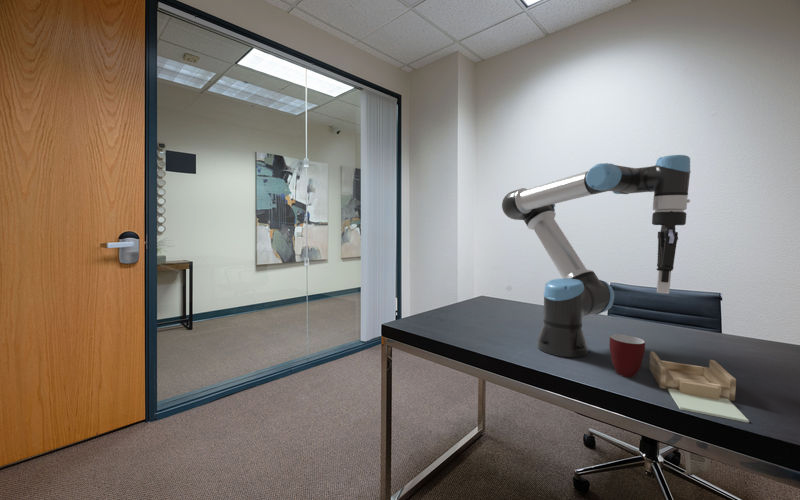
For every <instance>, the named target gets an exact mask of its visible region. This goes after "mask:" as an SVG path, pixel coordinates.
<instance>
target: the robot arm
mask: <svg viewBox="0 0 800 500" xmlns="http://www.w3.org/2000/svg"><path fill="white" fill-rule="evenodd" d="M691 171H692V170H691V158H690V156H688V155H684V154H672V155H671V154H670V155H665V156H661V157H660V156H659V157H658V158H657V159H656V162H655V165H651V166H645V167H631V166H630V167H629V166H623V165H617V164H613V163H608V162H607V163H603V162H602V163H596V164H594V165H593V166H592V167H590V168H589V170H587V171H586V170H585V171H584V172H580V173H576V174H573V175H570V176H567V177H564V178H560V179H557V180H555V181H551V182H547V183H544V184H542V185H538V186H534V187H532V188H528V189H527V188H525V187H524V188H518V189H516V190H512V191H510V192H508V193H507V194H506V195H505V196H504V197H503V199H502V202H501V209H502V211H503V214H504V215H505V216H506V217H508V218H509V219H511V220H515V221H523V222H524V223H525V224H526V227H527V229H529V230H533V231H534V233H535V234H536V236H537V237H538V239H539V241H540V242H541V244H542V246H543V247H544V249H545V251H546V252H547V254H548V256H549V257H550V259H551V261H552V263H553V265H554V266H555V268H556V269H557V271H558V273H559V274H560V276H561V278H555V279H551V280H548V281H547V282H546V283H545V285H544V291H543V324H542V328H541V329H540V332H539V334H538V337H537V341H536V342H537V343H536V345H537V348H538V349H539V350H541V351H542V352H544V353H547V354H550V355H554V356H557V357H564V358H581V357H585V356H587V355H588V344H587V341H586V338H585V335H584V331H583V317H585V316H586V317H587V316H592V315H595V316H596V315H601V314H602V313H605V312H607V311H609V310H610V309H611V308H612V306H613V304H614V301H615V292H614V290H613V287H612V286H611V285H610V284H609V283H608V282H606V281H604V280H602V279H599V277H598V276H597V274H596V273H595V271H594V270H590V269H588V268H587V267H586V266H585V264H584V263H583V262H582V261H583V260H581V258H580V257H579V255H578V253H577V252H576V251H575V249H574V247H573V246H572V244H571V243H570V241H569V239H568V238H567V236H566V235H565V233H564V232H563V230H562V229H561V228H560V226H559V224H558V223H557V221H556V219H555V218H556V208H555V207H556V204H558V203H559V204H560V203H562V202H564V203H565V202H567V201H571V200H576V199H580V198H584V197H588V196H589V197H590V196H592V195H596V194H601V193H606V192H612V194H615V195H629V194H637V193H653V201H652V202H653V203H652V210H653V213H652V218H651V219H652V220H651V224H652V225H653V226H661V228H660V231H657V262H656V263H657V264H656V266H657V268H656V271H657V283H656V284H657V285H656V293H658V294H667V295H669V294H670V290H671V289H670V287H671V275H672V271H673V270H674V264H675V256H676V251H677V250H676V249H677V243H678V240H679V237H678V235H679V233H678V231H676V226H684V225H686V223H687V222H686V221H687V212H685V211H687V209H688V204H690V202H691V199H688V198H689V197H688V196H689V185H690V178H691V177H690V176H691Z"/></svg>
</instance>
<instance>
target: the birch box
mask: <svg viewBox="0 0 800 500" xmlns="http://www.w3.org/2000/svg"><path fill="white" fill-rule="evenodd" d="M648 367H649V369H648V370H649V371H650V373H651V374H652V376H653V377H654V380H655V381H656V383H657V384H658V386H659V388H660V389H665V390H668V388H669V389H674V390H679V380H684V381H690V382H696V383H702V384H708V385H714V386H718V387H719V388H720V392H719V398H725V399H729V401H731V402H734V401H736V387H737V379H736V378H735V377H734V376H733V375H732V374H730V373H729V372H728V371H727V370H726V369H725V368H724V367H723V366H722V365H721V364H719V362H717V361H716V360H715V359H709V367H707V366H701V365H700V366H699V365H694V364H689V363H681V362H673V361H667V360H661V359H660V357H659V356H658V355H657V353H656V352H655V351H650V352H649V365H648Z"/></svg>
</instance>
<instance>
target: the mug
mask: <svg viewBox="0 0 800 500" xmlns="http://www.w3.org/2000/svg"><path fill="white" fill-rule="evenodd" d="M608 345H609V351H610V353H609V354H610V358H611V363H612V366H613V368H614V370H615V371H616V374H618V375H619V376H621V377H624V378H633V377H635V376H636V375H637V374H638V372H639V371H640V370H641V368H642V367H641V366H642V363H643V359H644V356H645V351H646V341H645V340H644V339H642V338H639V337H637V336H636V337H635V336H633V335H626V334H611V335H610V336H609V343H608Z"/></svg>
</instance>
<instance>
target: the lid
mask: <svg viewBox="0 0 800 500" xmlns="http://www.w3.org/2000/svg"><path fill="white" fill-rule="evenodd" d="M667 391H668V392H669V394H670V396H671V397H672V399H673V400H674V402H675V403H676V405H677V407H678V408H679V410H681V411H686V412H691V413H692V412H693V413H696V414H703V415H707V416H712V417H717V418H722V419H728V420H733V421H738V422H741V423H742V422H743V423H748V424H749V423H750V419H748V418H747V417H746V416H745V415H744V414H743V412H742V411H740V410H739V409H738V407H737V406H736V405H735V404H733V402H732V401H731V400H729V399H725V398H719V392H720V388H719V387H718V386H714V385H708V384H702V383H696V382H690V381H684V380H679V390H674V389H669V388H668V389H667Z"/></svg>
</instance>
